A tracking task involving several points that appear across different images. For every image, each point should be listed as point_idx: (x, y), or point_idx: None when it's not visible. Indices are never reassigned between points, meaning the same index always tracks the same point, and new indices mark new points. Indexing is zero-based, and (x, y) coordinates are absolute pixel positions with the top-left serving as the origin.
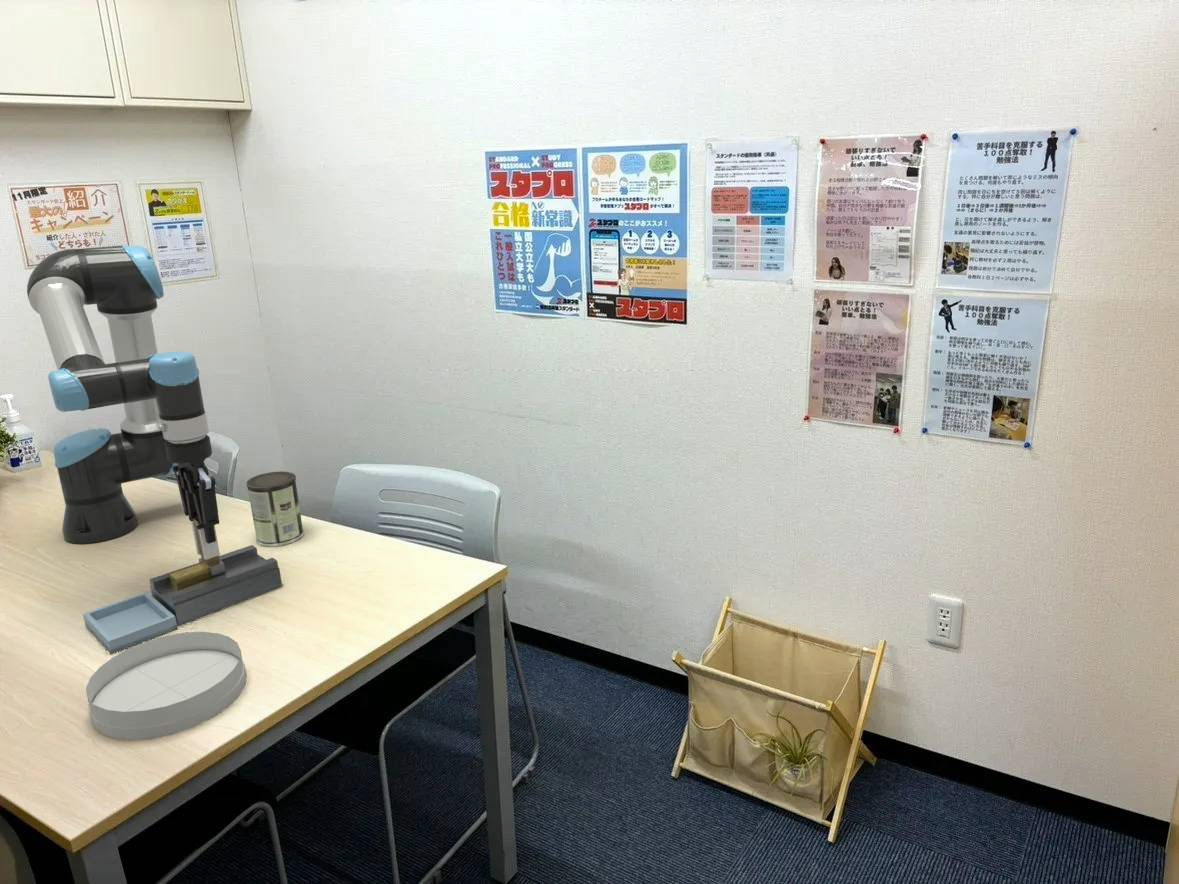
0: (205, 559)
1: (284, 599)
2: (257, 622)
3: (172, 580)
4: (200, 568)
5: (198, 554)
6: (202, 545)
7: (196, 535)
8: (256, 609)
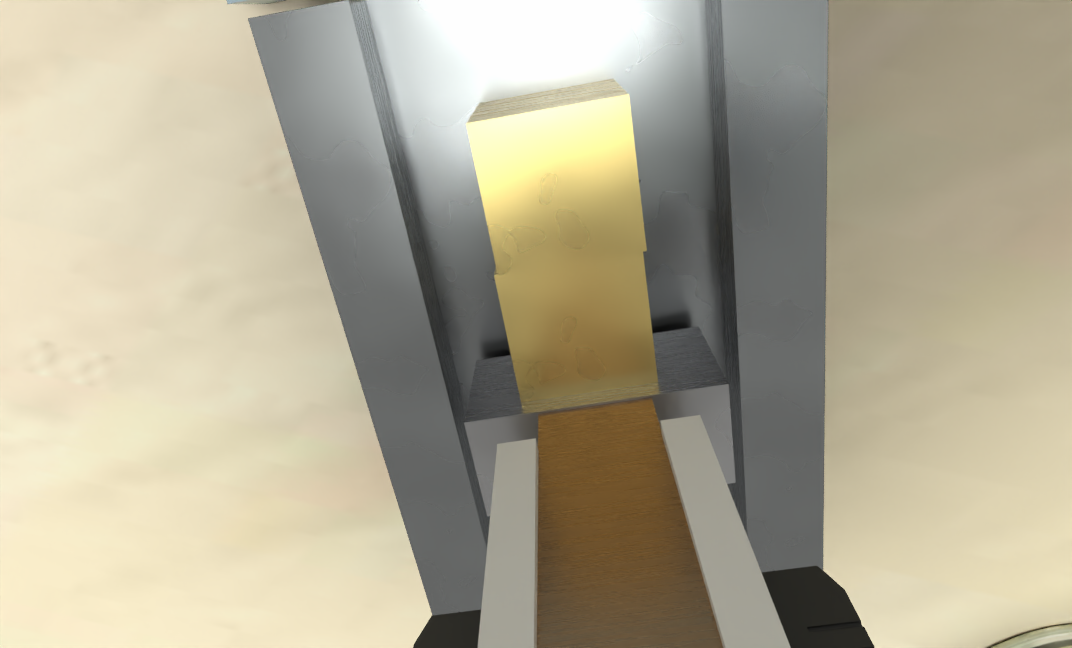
0: (504, 443)
1: (311, 551)
2: (118, 398)
3: (572, 98)
4: (555, 351)
5: (667, 421)
6: (505, 548)
7: (702, 594)
8: (275, 430)
